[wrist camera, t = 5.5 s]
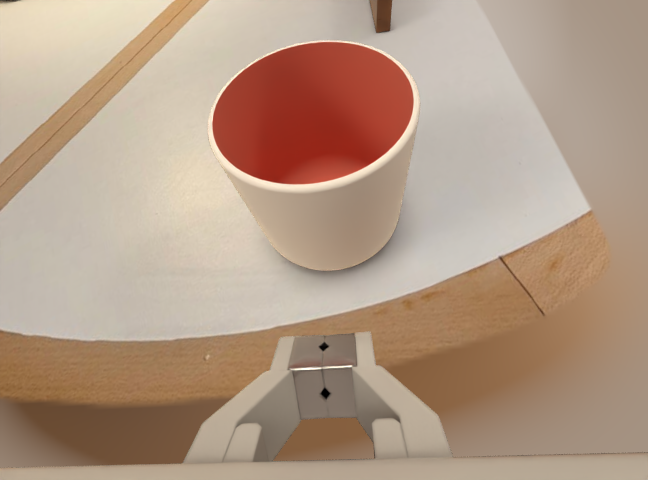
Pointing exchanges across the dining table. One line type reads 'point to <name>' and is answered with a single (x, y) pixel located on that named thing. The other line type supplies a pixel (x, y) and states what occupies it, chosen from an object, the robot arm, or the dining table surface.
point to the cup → (319, 148)
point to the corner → (381, 14)
